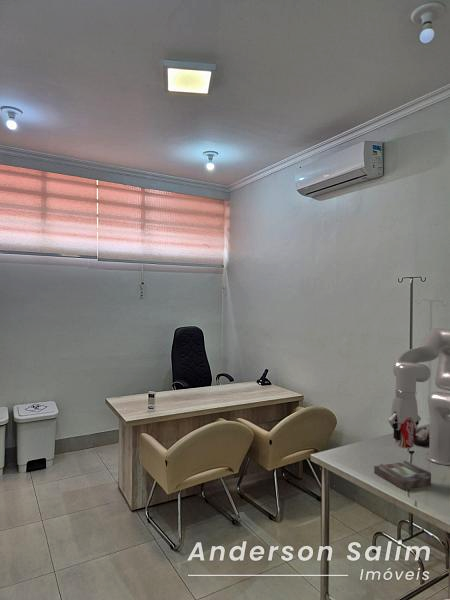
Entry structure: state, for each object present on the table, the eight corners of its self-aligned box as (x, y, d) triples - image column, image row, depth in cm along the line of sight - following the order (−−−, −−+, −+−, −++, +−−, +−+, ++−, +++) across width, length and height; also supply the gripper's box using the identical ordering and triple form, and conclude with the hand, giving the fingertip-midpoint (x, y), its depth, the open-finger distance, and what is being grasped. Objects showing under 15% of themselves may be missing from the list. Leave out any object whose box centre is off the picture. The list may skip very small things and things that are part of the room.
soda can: (403, 450, 156) (403, 419, 156) (391, 443, 163) (391, 414, 163) (417, 448, 158) (418, 419, 158) (405, 442, 165) (406, 414, 165)
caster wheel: (420, 452, 200) (407, 442, 210) (439, 446, 202) (425, 437, 212) (420, 440, 199) (406, 431, 209) (439, 434, 201) (425, 426, 211)
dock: (400, 469, 171) (400, 457, 171) (430, 485, 156) (431, 473, 156) (374, 473, 166) (374, 461, 167) (403, 490, 151) (403, 477, 152)
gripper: (414, 392, 167) (413, 433, 167) (382, 393, 161) (380, 437, 161) (429, 396, 160) (428, 439, 160) (395, 398, 154) (394, 443, 154)
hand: (404, 438), depth 161 cm, fingers closed on soda can, 7 cm apart
